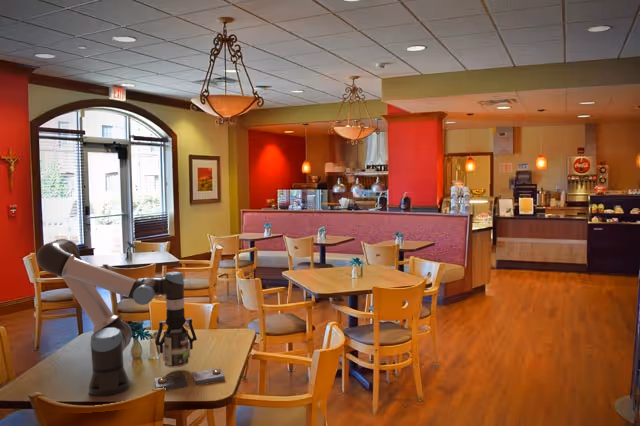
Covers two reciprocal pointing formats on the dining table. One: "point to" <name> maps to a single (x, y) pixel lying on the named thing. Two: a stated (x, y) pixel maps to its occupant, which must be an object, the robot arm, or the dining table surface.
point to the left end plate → (171, 382)
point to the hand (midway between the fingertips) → (176, 358)
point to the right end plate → (208, 376)
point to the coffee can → (176, 348)
